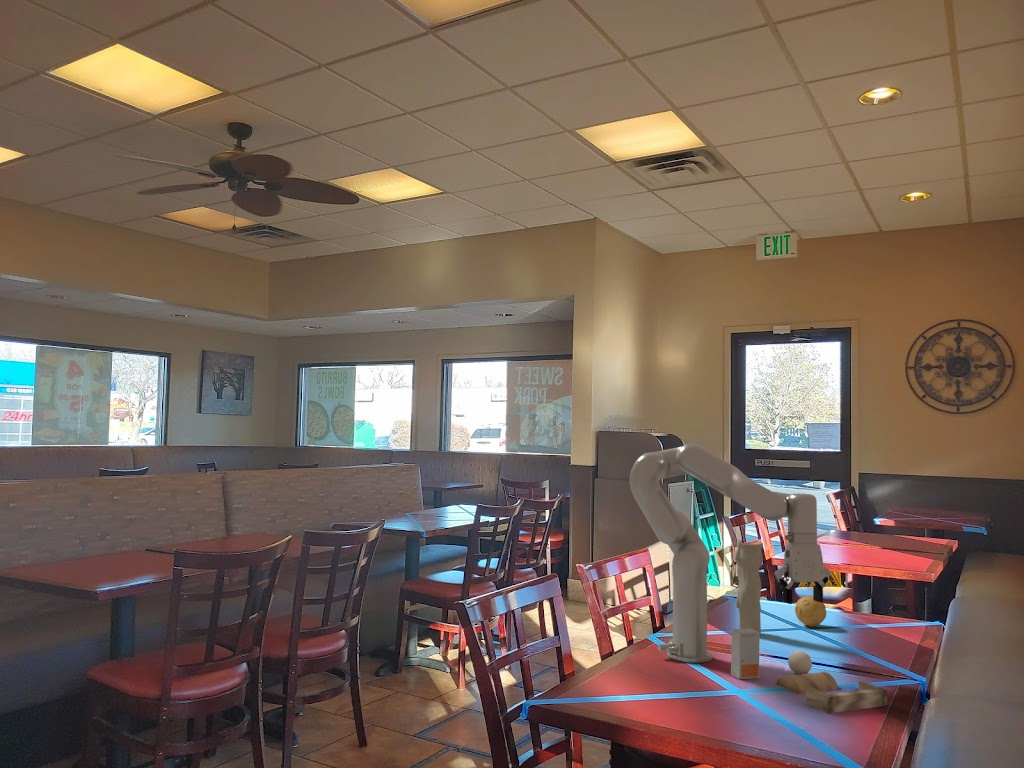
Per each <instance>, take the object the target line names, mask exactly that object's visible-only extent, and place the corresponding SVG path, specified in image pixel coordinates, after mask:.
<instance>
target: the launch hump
mask: <svg viewBox="0 0 1024 768" xmlns="http://www.w3.org/2000/svg"><path fill="white" fill-rule="evenodd" d="M775 685H776V686H777V687H779V688H782V689H784V690H786V691H788V692H791V693H793V694H795V695H801V694H802V695H803V694H806V687H813V688H815V689H817V690H819V691H822V692H826V691H827V692H828V691H829V692H830V691H838V690H839V686H838V683H837V681H836V679H835V677H834V676H832V675H831V674H830V673H829V672H825V671H821V672H811V673H809V672H808V673H806V674H792V675H783V676H779V677H778V678H777V679H776V681H775Z"/></svg>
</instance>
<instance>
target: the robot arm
mask: <svg viewBox="0 0 1024 768" xmlns="http://www.w3.org/2000/svg"><path fill="white" fill-rule="evenodd" d="M683 475H689V476H691V477H692V478H694V479H696V480H697V481H700V482H702V483H704V484H705V485H707V486H709V487H710V488H712V489H714V490H715V491H717V492H718V493H721V494H722V496H723V495H724V497H727V498H729V499H731V500H733V501H734V502H736V503H737V504H739V505H741V506H742V507H743V508H746V509H747V510H749V511H750V512H752V513H754V514H756V515H757V516H759V517H761V518H763V519H765V520H767V521H770V522H776V521H780V520H782V519H783V518H787V534H786V535H784V539H785V540H786V541H787V543H786V544H785V547H784V548H785V550H784V554H783V555H784V556H783V566H781V567H780V568H778V569H777V570H775V571H774V573H773V574H774V577H775V579H776V582H777V583H778V584H779V586H780V588H782V601H783V603H785V604H790V605H792V604H793V589H792V586H793V584H794V583H813V584H814V585H813V588H812V591H813V595H812V596H813V600H814V601H817V602H823V601H824V588H826V584H827V583H828V581H829V578H830V575H831V573H832V571H831V569H828V568H827V567H825V566H824V559H823V553H822V549H821V545H820V544H818V519H817V518H818V512H817V511H818V509H817V508H818V506H817V505H818V501H817V498H816V495H814V494H810V493H786V492H785V493H784V492H779V491H772V490H770V489H768V488H767V487H765V486H763V485H761V484H760V483H758V482H756V481H754V480H753V479H751V478H750V477H748V476H747V475H746V474H744V473H743V471H741V470H740V469H739V468H738V467H736V466H735V465H733V464H731V463H729V462H727V461H726V460H724V459H722V458H720V457H719V456H717V455H715V454H713V453H711V452H710V451H708V450H706V449H705V448H704V447H703V446H702V445H699V444H696V443H686V444H683V445H681V446H679V447H674V448H668V449H662V450H659V451H652V452H650V451H649V452H646V453H643V454H642V455H640V456H639V457H638V458H637V459H636V460H635V462H634V464H633V466H632V467H631V470H630V474H629V488H630V491H631V494H632V497H633V498H634V500H635V501H636V503H637V505H638V506H639V508H640V510H641V512H642V514H643V515H644V517H645V519H646V520H647V523H648V524H649V526H650V527H651V529H652V531H653V533H654V534H655V536H656V538H657V539H658V541H660V542H661V543H663V544H665V545H668V547H669V549H670V551H671V552H672V554H673V557H672V563H671V573H672V638H670V639H669V641H668V642H667V643H659V644H657V646H656V647H657V651H659V652H666V655H667V657H669V658H670V659H672V660H675V661H679V662H683V663H692V664H693V663H695V664H698V663H707V662H710V661H712V660H713V653H711V651H708V579H707V577H708V576H707V575H708V574H707V573H708V572H707V571H708V567H709V564H710V559H711V556H710V552H709V550H708V547H707V546H706V544H705V543H704V541H703V540H702V538H701V537H700V534H699V533H698V532H697V530H696V529H695V527H694V526H693V524H692V522H691V521H690V520H689V518H688V516H686V514H684V512H682V511H681V510H677V509H676V508H675V507H674V505H673V504H672V502H671V501H670V499H669V498H668V496H667V494H666V493H665V492H664V490H663V489H662V487H661V485H660V480H665V479H668V478H673V477H678V476H683ZM783 577H784V578H783ZM823 603H824V602H823Z"/></svg>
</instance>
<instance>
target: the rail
mask: <svg viewBox="0 0 1024 768" xmlns="http://www.w3.org/2000/svg"><path fill="white" fill-rule="evenodd" d="M805 704H807V705H810V706H811V707H814V708H816V709H817V710H820V711H822V712H824V713H826V714H834V713H840V712H848V711H857V710H864V709H874V708H880V707H879V706H882V707H887V706H888V690H887V689H884V688H883V687H880V686H877V685H875V684H872V683H870V682H868V681H865V680H862V681H861V680H860V681H858V690H856V691H845V692H837V693H829V694H828V693H826V692H825V691H819V690H817V689H815V688H813V687H806V693H805ZM886 705H887V706H886ZM873 707H874V708H873Z"/></svg>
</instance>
